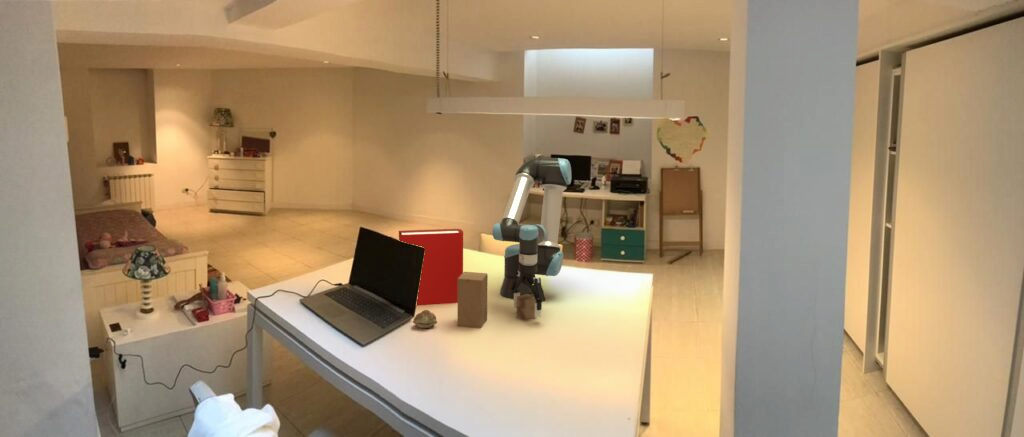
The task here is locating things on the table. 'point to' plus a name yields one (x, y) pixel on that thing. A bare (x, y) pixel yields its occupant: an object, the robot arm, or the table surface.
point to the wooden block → (472, 299)
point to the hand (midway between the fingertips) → (526, 312)
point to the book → (438, 263)
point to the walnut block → (526, 307)
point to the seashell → (425, 319)
